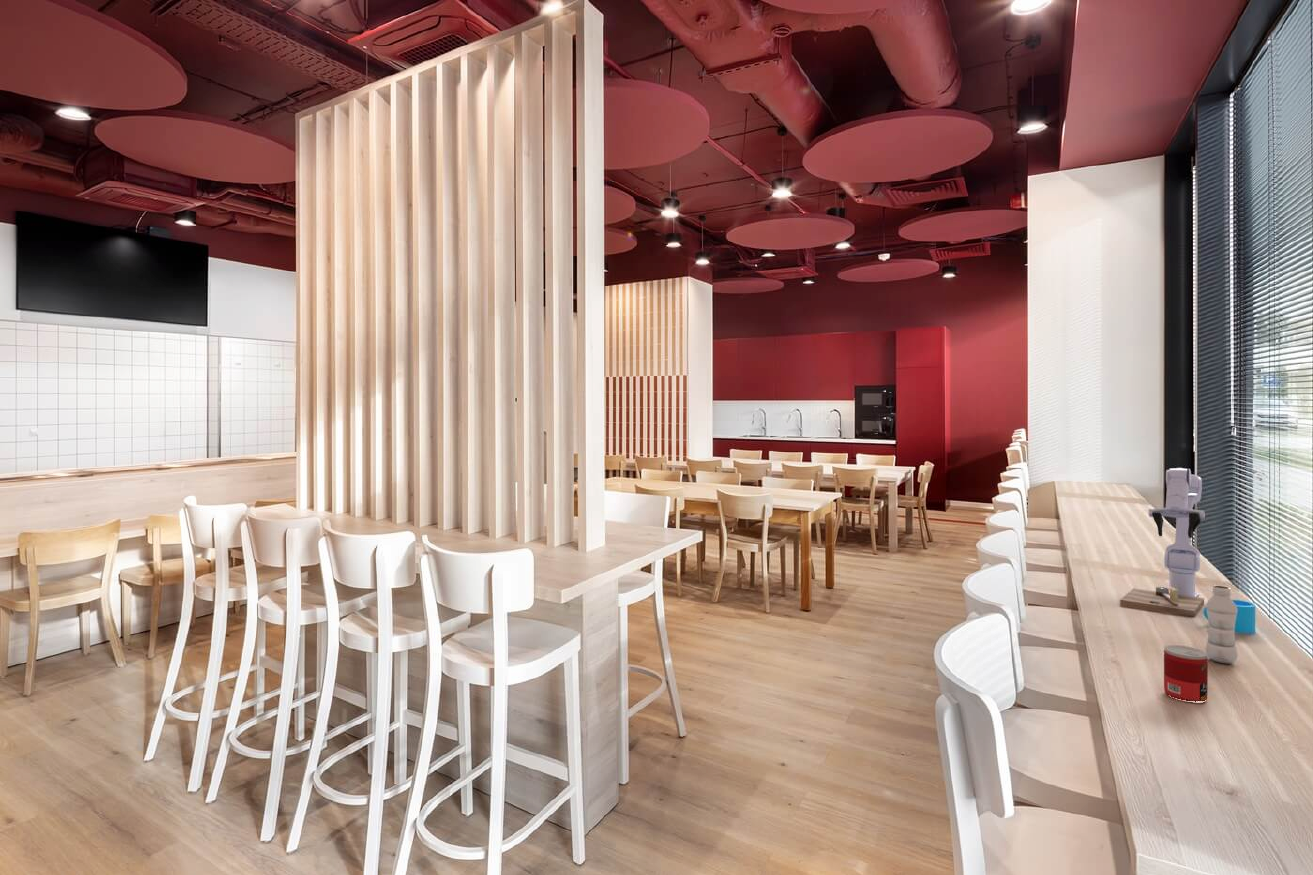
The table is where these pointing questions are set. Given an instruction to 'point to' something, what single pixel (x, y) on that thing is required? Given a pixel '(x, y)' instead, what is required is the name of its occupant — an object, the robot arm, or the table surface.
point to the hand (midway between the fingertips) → (1174, 535)
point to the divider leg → (1165, 592)
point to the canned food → (1185, 673)
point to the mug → (1242, 617)
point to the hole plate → (1162, 602)
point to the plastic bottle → (1221, 626)
